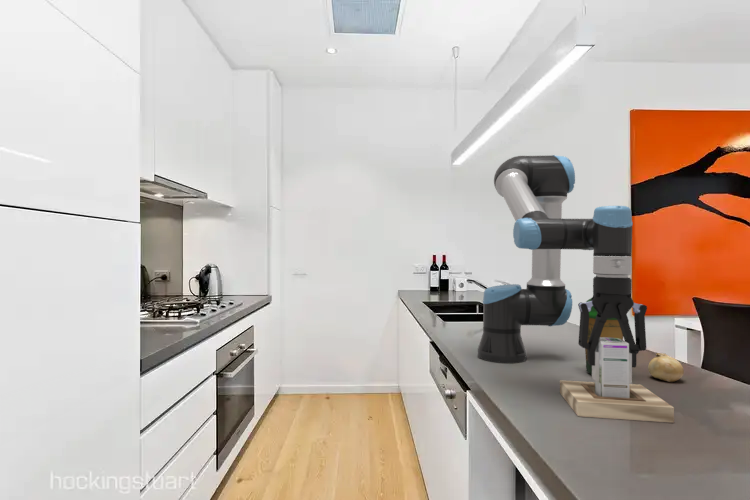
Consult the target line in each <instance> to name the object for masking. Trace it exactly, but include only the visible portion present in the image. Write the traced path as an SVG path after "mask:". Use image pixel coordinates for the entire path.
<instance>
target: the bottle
mask: <svg viewBox="0 0 750 500" xmlns="http://www.w3.org/2000/svg"><path fill="white" fill-rule="evenodd" d="M591 299H592V297H590V298H589V299H588V300H586V301H585V302H589V301H591ZM596 315H597V311H596V310H595V308H594V307H593V306H592V307H591V311H590V312H589V327H588V341H589V338H590V335H591V332H592V329H593V326H594V323H595V320H596ZM600 337H610V338H619V339H622V340H624V337H623V334H622V331H621V328H620V325H619V322H618V320H617V319H616V318H610V319H607V321H606V323H605V324H604V327H603V330H602V333H601V336H600ZM587 343H588V342H587ZM584 349H585V348H584ZM584 352H585V367H586V372H587V373H588V374H590V375H591V376H592V365H589V364H588V362H587V349H585V351H584Z"/></svg>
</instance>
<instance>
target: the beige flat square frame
mask: <svg viewBox="0 0 750 500" xmlns="http://www.w3.org/2000/svg"><path fill="white" fill-rule="evenodd" d="M629 389H630V398H619V397H602V396H597V395H596V394H595V381H581V380H579V381H578V380H563V379H562V380H561V379H560V380H559V394H560V395H561V397H563V399H564V400H565V401H566V402H567V404H568V405H569V407H570V408H571V409H572V410H573V412H574V414H576V415H577V417H583V418H598V419H599V418H600V419H611V420H614V419H615V420H627V421H628V420H630V421H640V422H641V421H644V422H658V423H659V422H660V423H673V424H674V423H675V407H674V406H673V405H671V404H669V403H668V402H667V401H665V400H664V399H662V398H661V397H659V396H658V395H656V394H655V393H653V392H652V391H651V390H649V389H647V387H646V386H643V385H642V384H639V383H638V384H634V383H632V384H629Z"/></svg>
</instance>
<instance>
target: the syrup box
mask: <svg viewBox="0 0 750 500" xmlns="http://www.w3.org/2000/svg"><path fill="white" fill-rule="evenodd" d="M596 350H597V351H598V352H599V382H595V381H594V382H595V394H596V395H597V396H602V397H619V398H630V389H629V343H627V342H625V340H624V339H623V340H622V339H619V338H610V337H600V339H599V342H598V345H597V347H596Z"/></svg>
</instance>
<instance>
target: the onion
mask: <svg viewBox="0 0 750 500" xmlns="http://www.w3.org/2000/svg"><path fill="white" fill-rule="evenodd" d="M647 366H648V367H647V368H648V372H649V374H650V375H651V376H652V377H653V378H655V379H659V380H661V381H665V382H668V383H673V382H676V381H677V382H678V381H679V380H681V378H682V377H683V376H684V373H685V372H684V371H685V370H684V367H683V365H682V363H681V362H679V360H677V359H676V358H674V357H672V356H669V355H668V354H666V353H661V352H656V354H655V356H654V357H653V358H652V359H651V360H650V361H649V363H648V365H647Z"/></svg>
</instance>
